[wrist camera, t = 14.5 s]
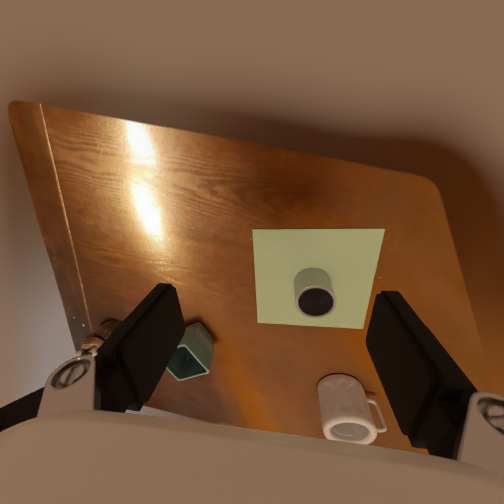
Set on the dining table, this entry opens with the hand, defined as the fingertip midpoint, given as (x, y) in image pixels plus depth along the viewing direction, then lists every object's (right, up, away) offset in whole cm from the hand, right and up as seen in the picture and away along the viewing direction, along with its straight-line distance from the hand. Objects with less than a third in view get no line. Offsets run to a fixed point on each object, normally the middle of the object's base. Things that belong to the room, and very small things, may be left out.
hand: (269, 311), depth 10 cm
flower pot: (-14, -16, +42) cm, 47 cm away
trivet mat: (+11, -3, +32) cm, 33 cm away
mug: (+22, -31, +44) cm, 58 cm away
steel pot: (+11, -3, +31) cm, 33 cm away
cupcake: (-36, -18, +46) cm, 61 cm away
